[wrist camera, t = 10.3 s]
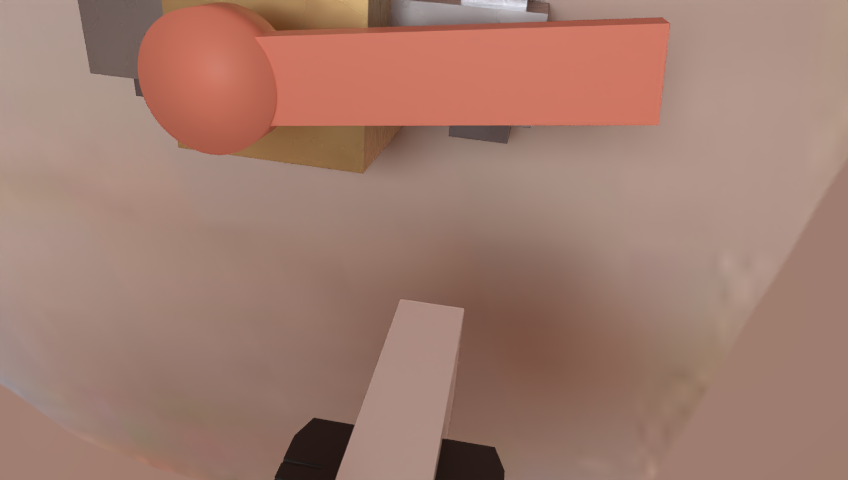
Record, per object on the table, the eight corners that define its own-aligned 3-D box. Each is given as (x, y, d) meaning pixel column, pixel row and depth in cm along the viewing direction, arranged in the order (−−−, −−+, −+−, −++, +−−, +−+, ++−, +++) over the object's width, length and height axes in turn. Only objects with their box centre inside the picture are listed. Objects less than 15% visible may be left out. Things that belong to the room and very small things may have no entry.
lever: (186, 138, 19) (157, 154, 18) (155, 5, 18) (120, 10, 16) (647, 139, 17) (655, 158, 15) (664, -19, 15) (676, -13, 14)
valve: (152, 88, 29) (1, 144, 21) (130, -76, 26) (-56, -82, 18) (528, 136, 27) (517, 219, 19) (555, -39, 23) (556, -27, 16)
